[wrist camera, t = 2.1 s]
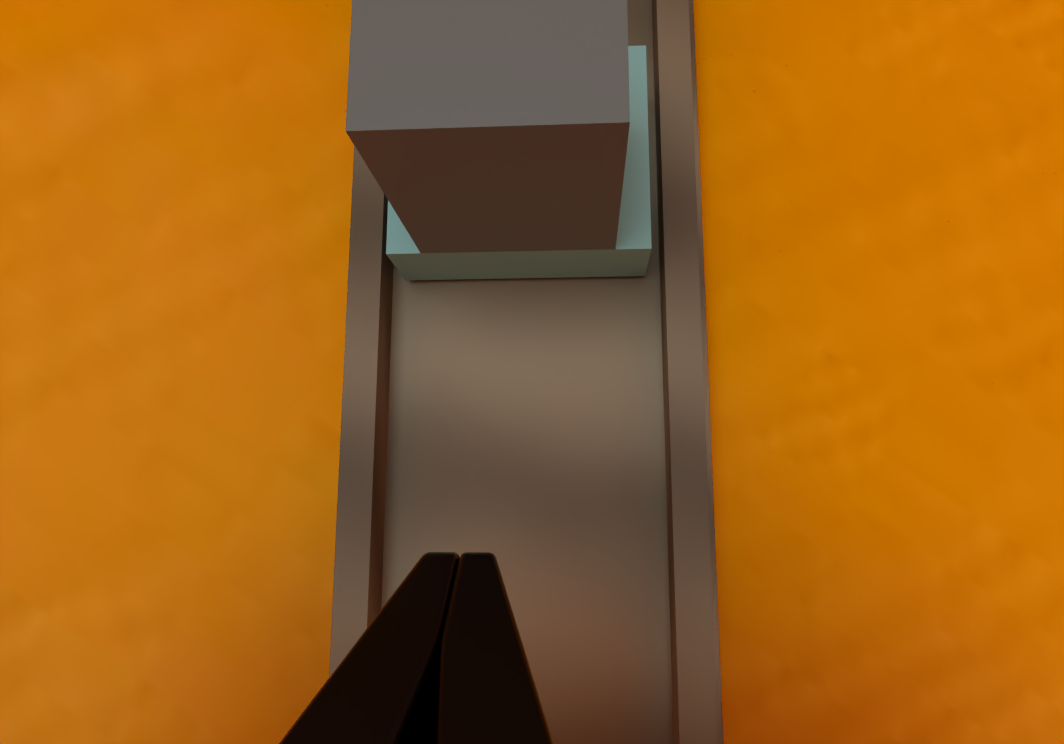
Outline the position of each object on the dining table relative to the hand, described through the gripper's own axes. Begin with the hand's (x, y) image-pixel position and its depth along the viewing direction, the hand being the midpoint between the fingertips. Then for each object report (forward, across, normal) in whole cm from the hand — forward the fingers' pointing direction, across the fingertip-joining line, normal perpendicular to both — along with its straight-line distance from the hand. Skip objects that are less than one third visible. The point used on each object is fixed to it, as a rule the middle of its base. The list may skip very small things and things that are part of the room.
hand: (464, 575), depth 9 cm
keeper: (+13, 0, 0) cm, 13 cm away
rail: (+12, 0, +4) cm, 13 cm away
